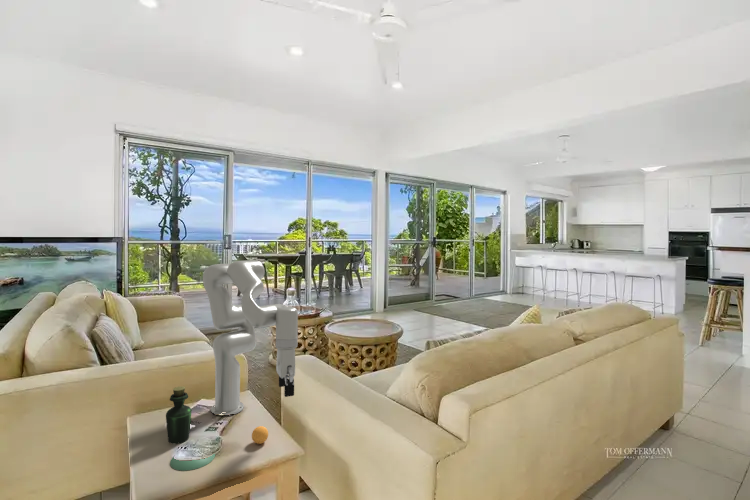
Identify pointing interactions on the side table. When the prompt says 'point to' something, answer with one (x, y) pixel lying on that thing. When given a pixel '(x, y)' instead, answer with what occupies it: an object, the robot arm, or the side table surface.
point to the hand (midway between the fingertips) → (286, 390)
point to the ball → (259, 434)
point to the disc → (190, 463)
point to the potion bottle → (178, 417)
